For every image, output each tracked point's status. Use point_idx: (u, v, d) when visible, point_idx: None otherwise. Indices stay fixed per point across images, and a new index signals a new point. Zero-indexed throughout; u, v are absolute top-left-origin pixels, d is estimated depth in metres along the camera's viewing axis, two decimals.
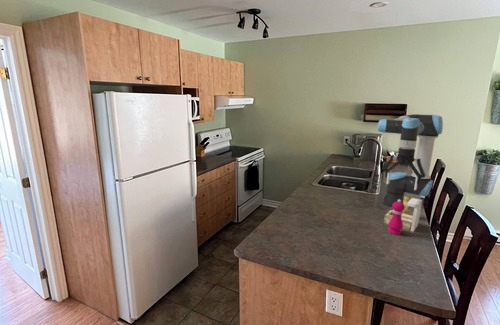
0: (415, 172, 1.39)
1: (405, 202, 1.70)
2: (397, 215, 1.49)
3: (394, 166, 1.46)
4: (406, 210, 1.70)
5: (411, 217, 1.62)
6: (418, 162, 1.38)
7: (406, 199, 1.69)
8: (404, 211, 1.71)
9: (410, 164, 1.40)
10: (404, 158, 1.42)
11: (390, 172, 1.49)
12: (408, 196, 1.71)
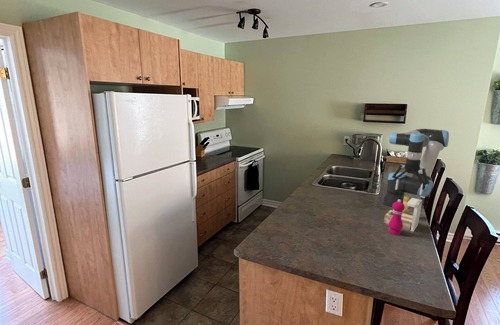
0: (420, 179, 1.62)
1: (405, 202, 1.70)
2: (397, 215, 1.49)
3: (402, 174, 1.69)
4: (406, 210, 1.70)
5: (411, 217, 1.62)
6: (423, 171, 1.61)
7: (406, 199, 1.69)
8: (404, 211, 1.71)
9: (416, 172, 1.63)
10: (411, 167, 1.65)
11: (398, 179, 1.73)
12: (408, 196, 1.71)
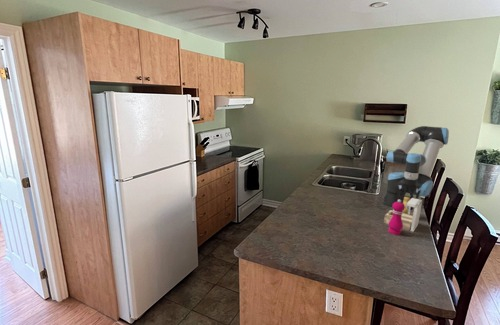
0: None
1: (405, 202, 1.70)
2: (397, 215, 1.49)
3: (403, 195, 1.71)
4: (406, 210, 1.70)
5: (411, 217, 1.62)
6: (418, 193, 1.65)
7: (406, 199, 1.69)
8: (404, 211, 1.71)
9: (411, 193, 1.67)
10: None
11: None
12: (408, 196, 1.71)
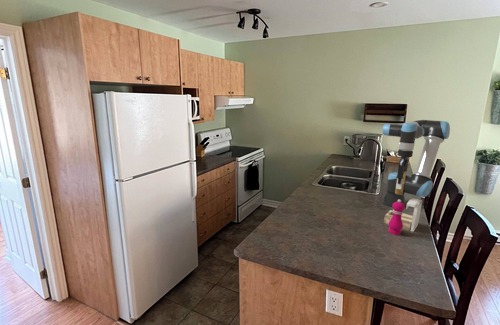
0: None
1: None
2: (397, 215, 1.49)
3: None
4: (396, 184, 1.62)
5: (411, 217, 1.62)
6: None
7: None
8: None
9: None
10: None
11: None
12: (404, 172, 1.59)
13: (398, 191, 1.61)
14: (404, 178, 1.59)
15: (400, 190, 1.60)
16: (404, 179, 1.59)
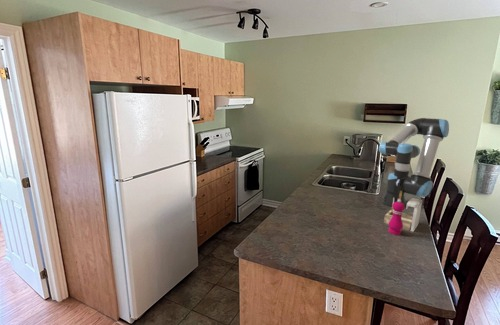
0: None
1: None
2: (397, 215, 1.49)
3: None
4: None
5: (411, 217, 1.62)
6: None
7: None
8: None
9: None
10: None
11: None
12: (401, 191, 1.61)
13: None
14: (400, 197, 1.61)
15: None
16: (400, 198, 1.62)
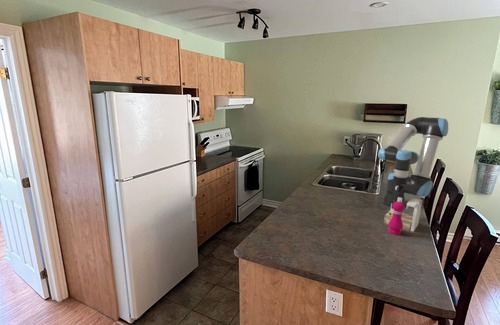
0: None
1: None
2: (397, 215, 1.49)
3: None
4: (391, 213, 1.66)
5: (411, 217, 1.62)
6: None
7: None
8: None
9: None
10: None
11: (401, 198, 1.67)
12: None
13: None
14: None
15: None
16: None
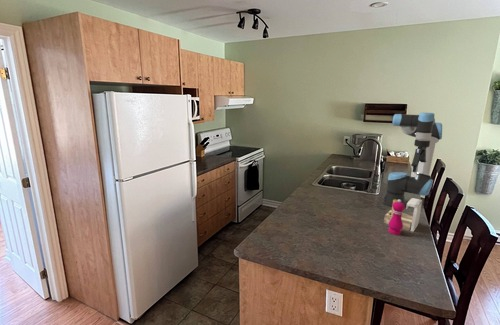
0: None
1: None
2: (397, 215, 1.49)
3: None
4: (391, 213, 1.66)
5: (411, 217, 1.62)
6: None
7: None
8: None
9: None
10: None
11: (423, 162, 1.64)
12: None
13: None
14: None
15: None
16: None
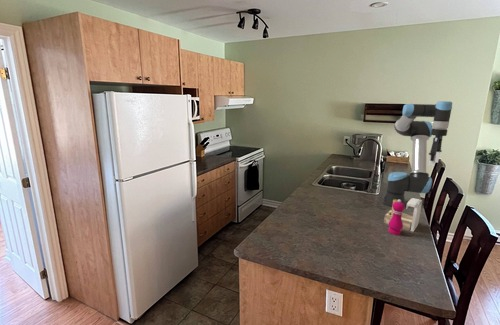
0: None
1: None
2: (397, 215, 1.49)
3: None
4: (391, 213, 1.66)
5: (411, 217, 1.62)
6: (433, 140, 1.53)
7: None
8: None
9: None
10: None
11: (439, 152, 1.63)
12: None
13: None
14: None
15: None
16: None
